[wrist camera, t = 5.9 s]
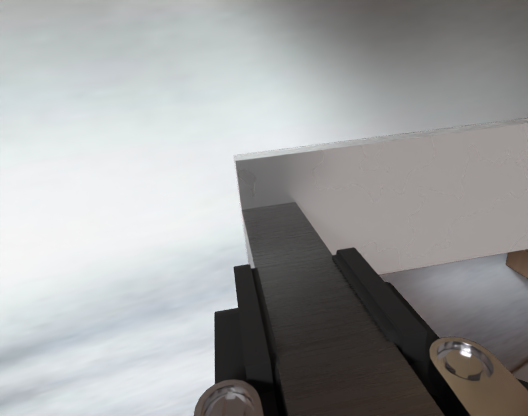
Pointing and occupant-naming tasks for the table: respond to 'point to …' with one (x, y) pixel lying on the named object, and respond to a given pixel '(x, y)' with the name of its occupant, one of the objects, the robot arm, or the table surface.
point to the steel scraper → (371, 248)
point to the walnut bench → (518, 261)
